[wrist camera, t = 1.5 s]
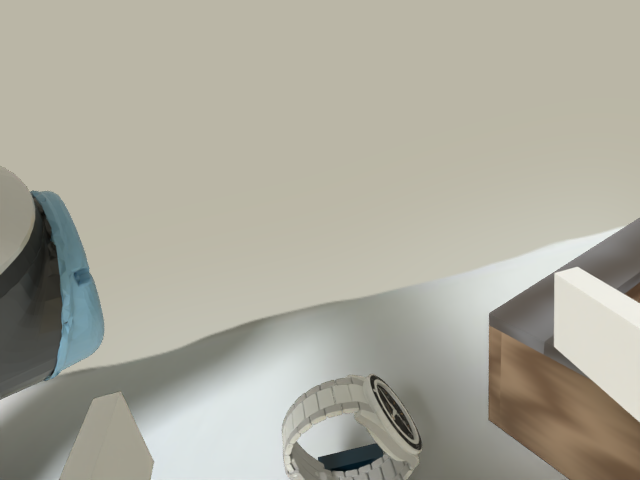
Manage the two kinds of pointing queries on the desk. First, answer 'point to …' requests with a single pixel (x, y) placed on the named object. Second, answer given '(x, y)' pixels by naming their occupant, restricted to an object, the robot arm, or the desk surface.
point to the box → (563, 376)
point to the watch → (371, 411)
